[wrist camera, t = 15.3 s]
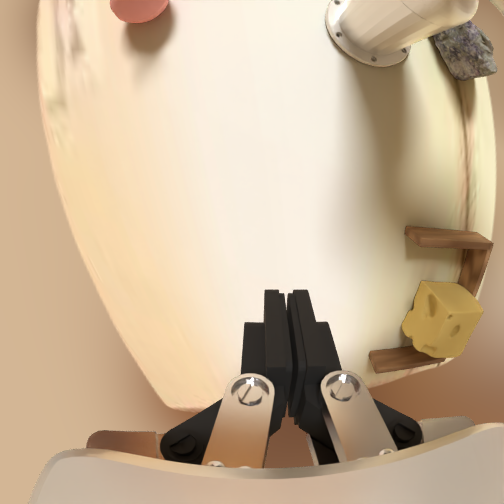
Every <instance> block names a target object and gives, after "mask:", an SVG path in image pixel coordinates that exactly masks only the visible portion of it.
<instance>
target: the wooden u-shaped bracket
mask: <svg viewBox="0 0 504 504" xmlns="http://www.w3.org/2000/svg"><path fill="white" fill-rule="evenodd" d="M405 234H406V235H407V236H408V237H409V238H410V239H412V240H413V241H414V242H415V243H416V244H418V245H419V246H420V247H438V248H461V249H468V253H467V256H466V259H465V263H464V266H463V269H462V272H461V275H460V278H459V281H458V284H459V285H461V286H463V287H464V288H465V289H467V290H468V291H469V292H470V293H471V294H472V295H473V296H474V297H476V294H477V292H478V289H479V286H480V284H481V281H482V278H483V275H484V272H485V270H486V267H487V263H488V260H489V257H490V254H491V251H492V247H493V243H492V242H491V241H489V240H488V239H486V238H485V237H483V236H482V235H480V234H479V233H477V232H469V231H459V230H448V229H436V228H424V227H411V226H406V229H405ZM369 357H370V360H371V362H372V365H373V367H374V370H375V373H383V372H390V371H397V370H403V369H409V368H415V367H420V366H425V365H430V364H435V363H439V362H444V361H445V359H446V358H434V357H431V356H430V355H428V354H426V353H424V352H419V351H418V350H417V349H416V348H415V347H414V346H409V347H401V348H393V349H384V350H375V351H370V353H369Z"/></svg>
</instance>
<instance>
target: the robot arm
mask: <svg viewBox="0 0 504 504" xmlns="http://www.w3.org/2000/svg"><path fill="white" fill-rule="evenodd" d="M490 1H491V2H492V3H493V4H494V6H495V7H496V8H498V9H499V11H500V12H501V13H502V14H503V16H504V0H490ZM478 3H479V0H331V2H330V3H329V5H328V7H327V9H326V14H325V21H326V25H327V29H328V31H329V33H330V35H331V37H332V38H333V40H334V41H335V43H336V44H337V45H338V46H339V47H340V48H341V49H342V50H343V51H344V52H346V53H347V54H348V55H349V56H351V57H353V58H354V59H356V60H357V61H360V62H362V63H364V64H368V65H371V66H377V67H387V66H391V65H395V64H397V63H399V62H401V61H402V60H403V59H405V58H406V56H407V55H408V54H409V51H410V48H411V45H412V44H414V43H416V42H419V41H421V40H423V39H426V38H428V37H430V36H433V35H435V34H438V33H440V32H443V31H446V30H448V29H451V28H454V27H456V26H459V25H462V24H464V23H466V22H468V21H469V20H470V19H471V18H472V17H473V16H474V15H475V12H476V11H477V7H478ZM336 35H338V36H339V37H337V36H336ZM371 59H372V60H373V61H372V60H371ZM287 402H288V415H289V417H294V424H295V425H299V428H300V429H302V430H303V431H305V432H306V438H307V442H308V445H309V448H310V452H311V455H312V458H313V462H314V465H315V466H309V467H297V468H271V469H270V468H269V469H264V466H265V461H266V455H267V450H268V444H269V439H270V436H271V435H272V434H274V433H275V432H276V431H277V430H279V429H280V427H281V421H282V418H283V417H285V412H286V407H287ZM28 504H504V423H485V424H480V425H476V426H475V424H474V422H473V421H472V420H471V419H470V418H468V417H466V416H457V417H448V418H435V419H422V420H421V421H420V422H416V421H415V420H413V419H412V418H410V417H408V416H406V415H404V414H402V413H400V412H398V411H396V410H394V409H392V408H390V407H388V406H386V405H384V404H383V403H381V402H379V401H377V400H375V399H373V398H372V397H371V395H370V393H369V391H368V389H367V387H366V385H365V383H364V382H363V380H362V379H361V378H360V377H359V376H358V375H356V374H354V373H352V372H349V371H343V370H342V369H341V365H340V361H339V358H338V354H337V351H336V347H335V344H334V341H333V337H332V334H331V330H330V327H329V324H328V322H316V320H315V316H314V312H313V308H312V304H311V300H310V297H309V293H308V290H293V293H288V298H287V310H286V304H285V296H284V293H279V290H265V294H264V323H255V322H245V324H244V337H243V351H242V365H241V375H239V376H237V377H235V378H233V379H232V380H231V381H230V382H229V384H228V385H227V387H226V390H225V393H224V397H223V398H222V399H221V400H219V401H217V402H216V403H214V404H213V405H211V406H210V407H208V408H206V409H205V410H203V411H202V412H200V413H198V414H197V415H195V416H193V417H192V418H190V419H188V420H187V421H185V422H183V423H181V424H180V425H178V426H176V427H175V428H173V429H171V430H170V431H168V432H167V433H164V434H157V433H156V432H154V431H153V432H152V431H150V432H149V431H147V432H146V431H138V432H137V431H133V432H132V431H108V430H103V431H97V432H95V433H93V434H92V435H91V436H90V437H89V439H88V442H87V445H86V448H82V449H72V450H66V451H62V452H60V453H58V454H56V455H55V456H53V457H52V458H51V459H50V460H49V461H48V463H47V464H46V465H45V467H44V469H43V470H42V472H41V474H40V476H39V478H38V480H37V482H36V484H35V486H34V489H33V492H32V494H31V497H30V500H29V503H28Z"/></svg>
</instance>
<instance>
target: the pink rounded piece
mask: <svg viewBox="0 0 504 504" xmlns="http://www.w3.org/2000/svg"><path fill="white" fill-rule="evenodd" d="M167 5H168V0H110V7H111V9H112V11H113V12H114V13H115V15H116V16H117V17H118V18H119V19H120V20H122V21H125V22H130V23H144V22H147V21H150V20H152V19H154V18H155V17H157V16H159V15H160V14H161V13H162V12H163V11H164V9H165V8H166V6H167Z"/></svg>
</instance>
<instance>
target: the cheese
mask: <svg viewBox="0 0 504 504" xmlns="http://www.w3.org/2000/svg"><path fill="white" fill-rule="evenodd" d="M482 314H483V309H482V308H481V306H480V304H479V302H478V301H477V300H476V298H475V297H474V296H473V295H472V294H471V293H470V292H469V291H468V290H467V289H465V288H464V287H463V286H461V285H459V284H457V283H450V282H430V281H421V283H420V285H419V288H418V291H417V293H416V296H415V298H414V308H413V310H409V312H408V313H407V315H406V317H405V319H404V321H403V323H402V325H401V326H402V330H403V332H404V334H405V335H406V336H407V337H409V338H411V339H412V340H413V342H412V344H413V346H414V347H415V348H416V349H417V350H418V351H419V352H424V353H426V354H428V355H430V356H431V357H434V358H452V357H457V356H460V355H461V353H462V352H463V350H464V348H465V346H466V344H467V342H468V340H469V338H470V336H471V334H472V332H473V330H474V328H475V327H476V325H477V323H478V321H479V319H480V317H481V316H482Z"/></svg>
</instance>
